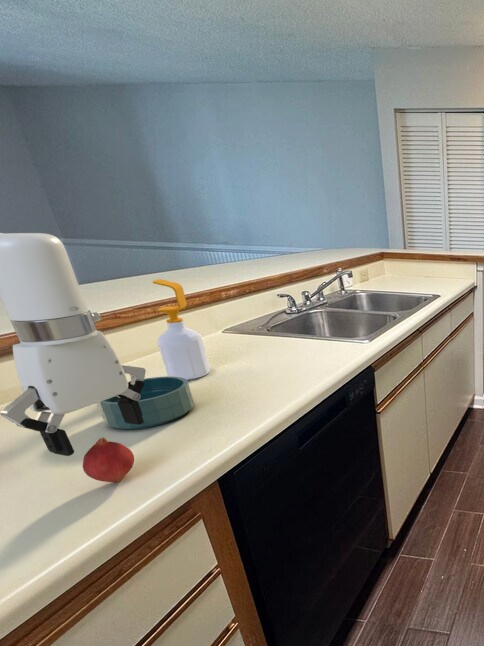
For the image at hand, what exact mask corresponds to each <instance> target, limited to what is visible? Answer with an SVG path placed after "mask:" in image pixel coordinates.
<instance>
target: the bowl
mask: <svg viewBox="0 0 484 646" xmlns="http://www.w3.org/2000/svg"><path fill="white" fill-rule="evenodd" d="M188 381H189V380H186V379H184V378H181V377H168V376H155V377H146V378H144V380H143V382H144V387H143V388H142V390H141V392H140V396H141V397H140V399H139V400H138V403H139V406H140V409H141V411H142V414H143V415H142V418H143V421H144V423H143V424H141V425H137V424H129V423H125V421H124V419H123V416H122V413H121V411H120V408H119V406H118V400H121V399H120V398H119V397H117V396H115V397H112V398H109V399H107V400H104V401H101V402H98V403H96V405H97V406H98V410H99V412H100V414H101V415H100V416H101V418H102V420H103V422H104V425H106V426H108V427H109V428H116V429H120V430H139V429H147V428H152V427H156V426H160V425H165V424H167V423H170V422H172V421H175V420H177V419H179V418H181V417H183V416H184V415H186V414H187V413H188V412H189V411H190V410H192V409H193V408H194V406H195V402H194V397H193V395H192V391H191V387H190V384H189V382H188ZM128 383H129V381H128Z"/></svg>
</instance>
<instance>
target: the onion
mask: <svg viewBox="0 0 484 646" xmlns="http://www.w3.org/2000/svg"><path fill="white" fill-rule="evenodd" d="M82 460H83V461H82V469H83V472H84V474H85V475H86V476H87V477H90V478H91V479H93V480H95V481H98V482H105V483H112V484H116V483H120V482H121V481H122V480H123V479H124V478H125V476H127V475H128V473H129V472H131V470H132V469H133V467H134V463H135V455H134V453H133V451H132V450H131V449H130V448H129V447H127V446H126V445H124V444H123V443H121V442H117V441H111V440H110V441H109V440H108V439H106V438H105V437H103V436H101V437H99V438H98V440H97V441H96V442H95V443H94V444H93V445H92V446H91V447H90V448H89V449H88V450H87V451H86V452H85V454H84V456H83V458H82Z"/></svg>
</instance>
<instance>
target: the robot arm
mask: <svg viewBox="0 0 484 646" xmlns="http://www.w3.org/2000/svg"><path fill="white" fill-rule="evenodd" d="M83 294H84V293H83V292H82V289H81V287H80V284H79V281H78V278H77V275H76V273H75V271H74V268H73V265H72V263H71V260H70V257H69V255H68V253H67V250H66V248H65V244H63V241H61V239H60V238H59V237H57V236H55V235H53V234H49V233H45V232H44V233H43V232H12V233H11V232H10V233H8V232H7V233H5V232H0V301H1V303H2V305H3V308H4V310H5V312H6V313H7V314H6V315H7V316H8V318H9V320H10V323H11V325H12V327H13V330H14V332H15V335H16V336H17V338H18V340H19V343H15V344H13V345H12V355H13V361H14V366H15V371H16V374H17V378H18V381H19V384H20V387H21V390H22V393H21V394H20V395H18V396H17V397H16V398H15V399H13V400H12V402H10V403H9V404H7V405H6V406H5V407H4V408H2V409H1V411H0V416H1V417H3V418H5V419H6V420H8V421H9V422H11V423H13V424H15V425H16V427H19V428H23V429H28V430H32V431H34V432H39V433H40V435H41V438H42V440H43V442H44V445H45V447H46V448H47V450H48V451H49V452H50V453H52V454H54V455H59V456H65V457H71V456H72V455H74V453H75V450H74V447H73V445H72V442H71V441H70V439H69V436H68V434H67V432H66V430H65V429H62V428H60V425H61V423H62V421H63V419H64V417H65V415H67V414H70V413H73V412H76V411H79V410H82V409H85V408H87V407H91V406H93V405H95V404H96V405H97V403H98V402H101V401H104V400H107V399H109V398H112V397H115V396H117V397H119V398H120V399H121V400H118V406H119V408H120V411H121V413H122V416H123V419H124V421H125V423H129V424H137V425H141V424H143V423H144V421H143V418H142V415H143V414H142V411H141V409H140V406H139V403H138V400H139V399H140V397H141V396H140V392H141V390H142V388H143V387H144V382H143V380H144V379H146V378H145V377H146V372H147V371H146V369H145V367H139V366H132V365H124V364H122V363H121V361H120V358H119V356H118V355H117V353H116V352H115V350H114V348H113V346H112V345H111V343H110V342H109V340H108V339H107V337H106V336H105V334H104V333H103V332H102V331H101V330H97V326H96V323H97V322H100V321H102V317H101V315H100V313H98V312H97V311H96V312H91V310H89V308H88V305H87V302H86V300H85V297H84V295H83ZM127 374H128V375H130V380H129V381H128V378H127ZM128 382H129V383H128ZM29 408H30V409H31V411H34V412H38V413H37V415H36V417H35V418H34V419H33V418H32V417H30V416H28V415H27V414H26V410H28V409H29Z"/></svg>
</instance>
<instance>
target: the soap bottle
mask: <svg viewBox="0 0 484 646" xmlns="http://www.w3.org/2000/svg"><path fill="white" fill-rule="evenodd" d="M152 284H153V285H159V286H163V287H167V288H170V289H171V290H173V292H174V294H175V298H176V302H177V305H176V306H175V305H173V306H171V305H170V306H162V307H160V308H158V309H157V311H158V312H164V313H165V315H168V319H166V321H165V322H166V325H167V330H166V331H164V332H162V333H161V334H160V335H159V337H158V338H157V342H156V343H157V346H158V349H159V352H160V355H161V358H162V363H163V365H164V368H165V372H166V375H167V377H181V378H184V379H186V380H187V381H191V380H195V379H199V378H202V377H205V376H206V375H208V374H210V373H211V367H210V362H209V358H208V355H207V351H206V348H205V343H204V339H203V336H202V335H201V334H200V333H199V331H196V330H194V329H191V328H188V327H186V326H185V323H184V320H183V318H182V317H179V316H178V314H180V310H182V309H184V308H186V307H187V305H188V302H187V299H186V295H185V291H184V287H183V286H182V285H181V284H180V283H177V282H174V281H169V280H165V279H162V278H161V279H160V278H158V279H154V280H152Z"/></svg>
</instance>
